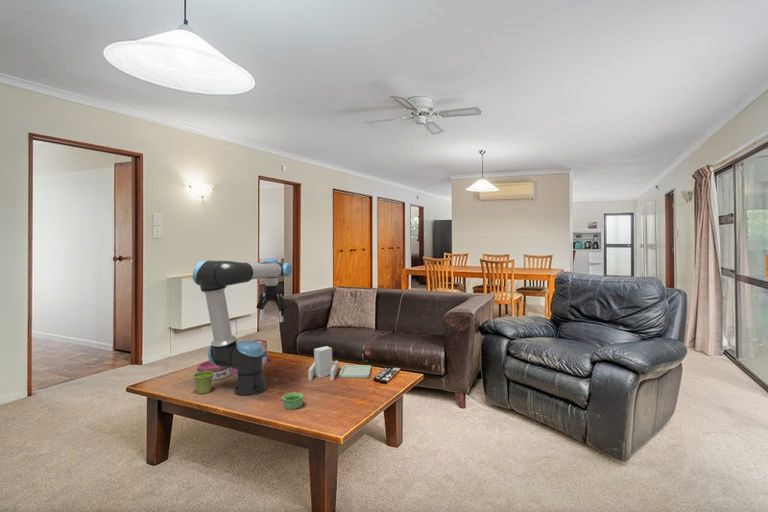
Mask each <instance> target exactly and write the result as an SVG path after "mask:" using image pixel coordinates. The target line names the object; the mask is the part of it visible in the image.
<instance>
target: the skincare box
mask: <svg viewBox="0 0 768 512" xmlns="http://www.w3.org/2000/svg"><path fill="white" fill-rule="evenodd" d="M313 358H314V361H313V363H314V365H315V375H314V376H316V377H318V378H323V377H327V376H330V370H331V368H332V364H333V348H332V347H330V346H328V345H326V346H321V347H317V348H314V349H313Z"/></svg>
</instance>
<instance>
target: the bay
mask: <svg viewBox="0 0 768 512" xmlns="http://www.w3.org/2000/svg"><path fill="white" fill-rule="evenodd" d="M339 367H340V365H339V360H334V362H333V363H332V368H331V370H330V375H329V377H330V381H335V377H336V375H337V374H338V371H339ZM307 374H308V375H307V377H308V378H307V380H308V381H312V380H313V379H314V377H315V376H316V375H315V365H314V362H312V364H311V365H310V367H309V369H308V370H307ZM313 376H314V377H313Z"/></svg>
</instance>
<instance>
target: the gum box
mask: <svg viewBox="0 0 768 512" xmlns="http://www.w3.org/2000/svg"><path fill="white" fill-rule="evenodd" d="M253 341H255V342H258V343H260V344H261V346H262V366H263V365H266V364H267V363H268V340H264V339H263V340H262V339H254V340H253ZM231 372H232V374H237V368H231Z"/></svg>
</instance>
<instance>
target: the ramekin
mask: <svg viewBox="0 0 768 512" xmlns="http://www.w3.org/2000/svg"><path fill="white" fill-rule="evenodd" d="M281 398H282V402H283V407H284V409H286V410H298V409H299V408H301V407H302V406H303V401H304V400H303V398H304V395H303V393H301V392H290V393H286V394H284V395H283V396H282V397H281Z"/></svg>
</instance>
